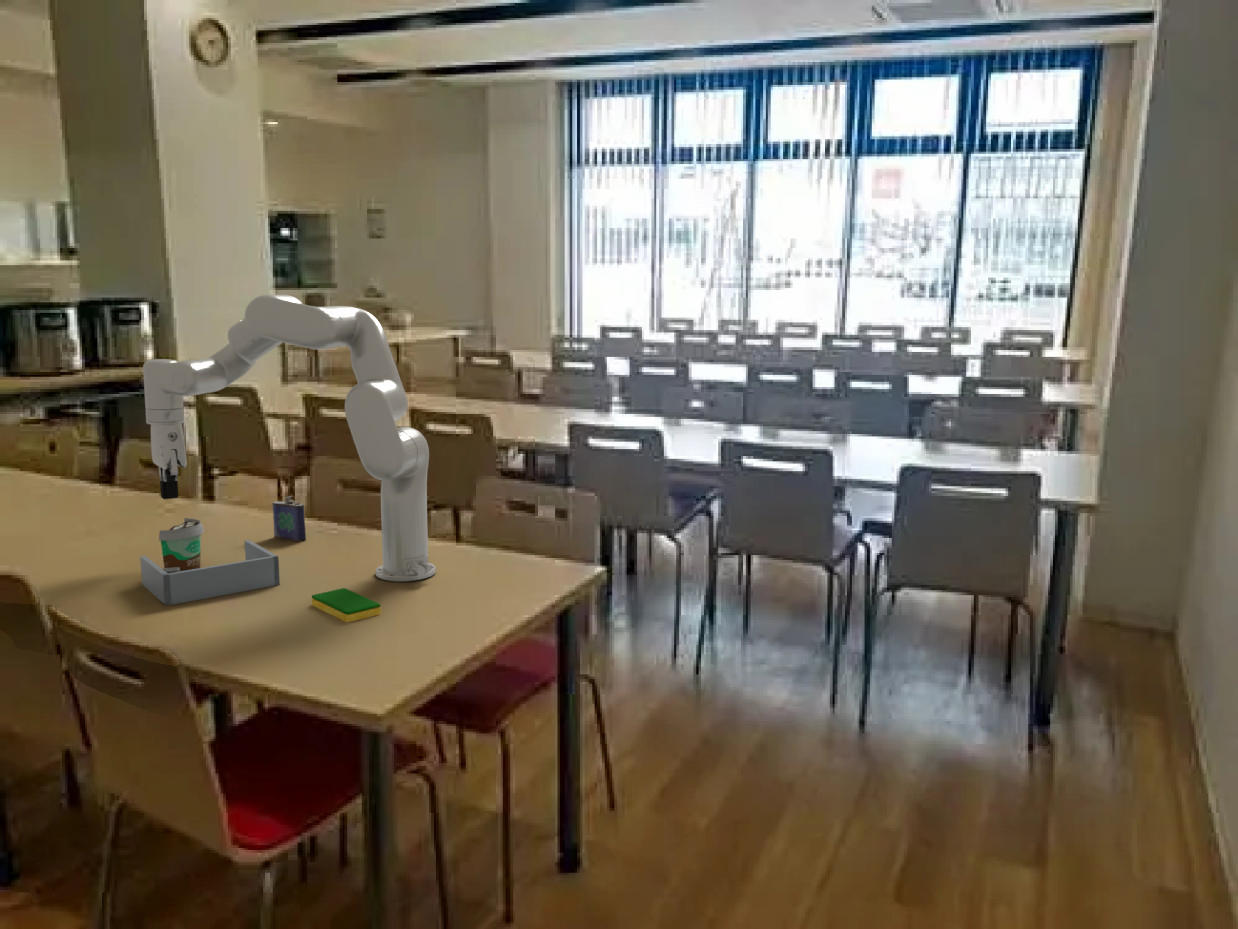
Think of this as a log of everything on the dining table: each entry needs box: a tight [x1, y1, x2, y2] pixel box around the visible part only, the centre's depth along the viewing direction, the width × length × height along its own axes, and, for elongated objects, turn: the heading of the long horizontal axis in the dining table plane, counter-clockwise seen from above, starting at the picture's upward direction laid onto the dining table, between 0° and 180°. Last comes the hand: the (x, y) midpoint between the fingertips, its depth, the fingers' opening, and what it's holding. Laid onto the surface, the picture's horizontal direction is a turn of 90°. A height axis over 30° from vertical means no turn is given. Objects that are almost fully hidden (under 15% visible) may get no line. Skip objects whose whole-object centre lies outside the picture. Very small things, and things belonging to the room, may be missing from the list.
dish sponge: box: [311, 587, 382, 623], centre depth 184 cm, size 7×14×2 cm, turn 44°
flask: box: [271, 495, 307, 543], centre depth 234 cm, size 9×3×11 cm, turn 65°
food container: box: [158, 517, 205, 573], centre depth 208 cm, size 12×6×10 cm, turn 179°
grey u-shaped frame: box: [139, 539, 281, 607], centre depth 198 cm, size 17×22×6 cm
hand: (169, 497), depth 214 cm, fingers closed
